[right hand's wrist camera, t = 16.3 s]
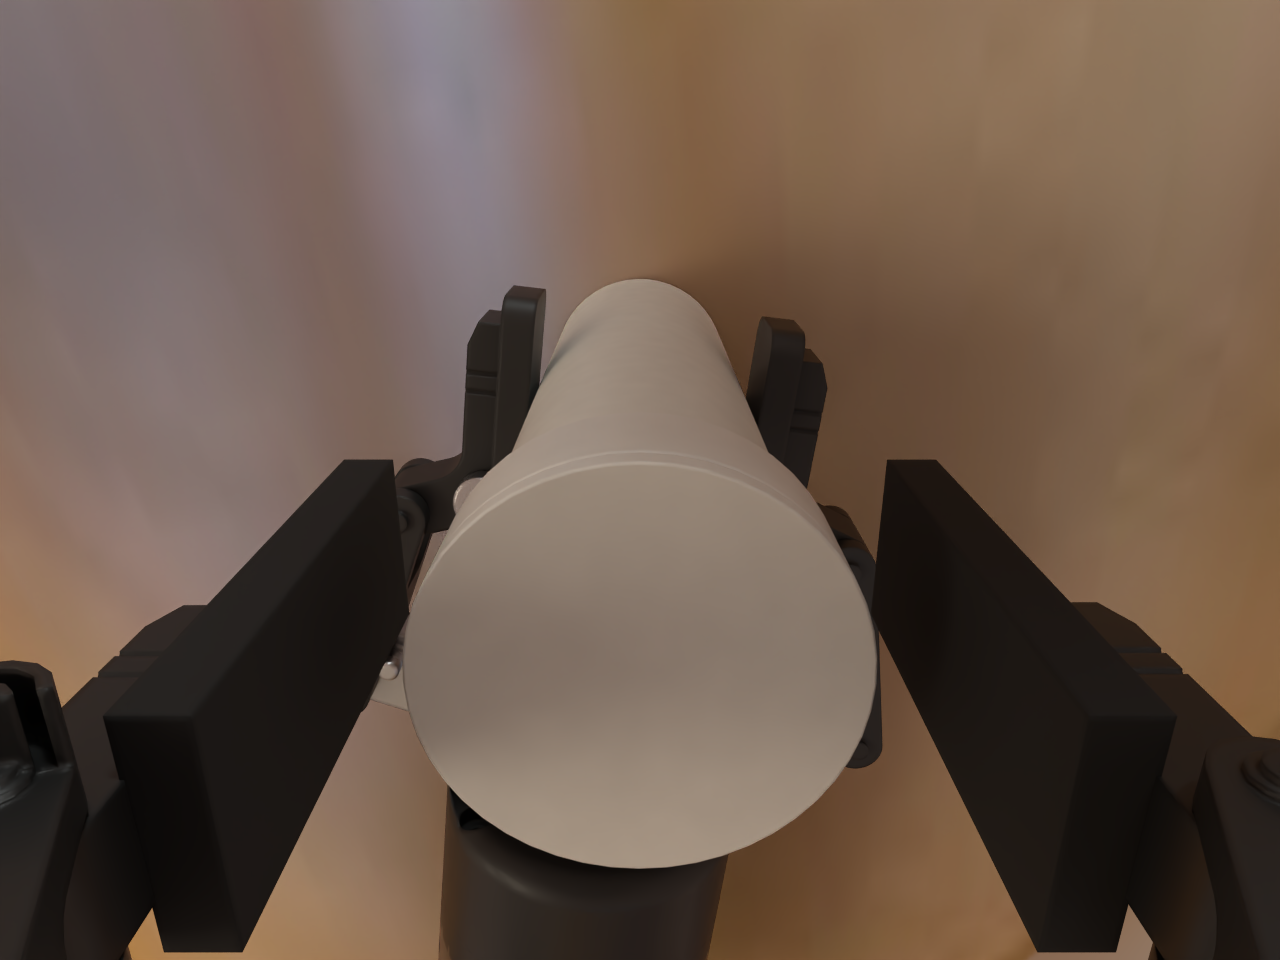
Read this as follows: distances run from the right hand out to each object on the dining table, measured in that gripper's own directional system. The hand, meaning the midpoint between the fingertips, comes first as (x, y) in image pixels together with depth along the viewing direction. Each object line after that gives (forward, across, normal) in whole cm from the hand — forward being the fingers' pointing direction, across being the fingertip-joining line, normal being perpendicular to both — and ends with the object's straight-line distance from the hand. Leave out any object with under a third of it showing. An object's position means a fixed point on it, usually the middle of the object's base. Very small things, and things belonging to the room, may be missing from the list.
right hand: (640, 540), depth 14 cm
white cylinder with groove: (-4, 0, 0) cm, 4 cm away
